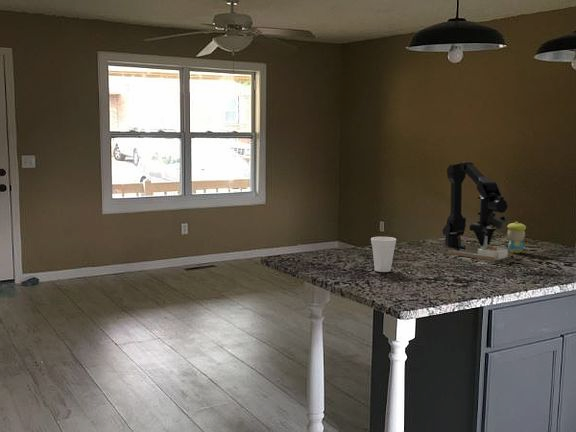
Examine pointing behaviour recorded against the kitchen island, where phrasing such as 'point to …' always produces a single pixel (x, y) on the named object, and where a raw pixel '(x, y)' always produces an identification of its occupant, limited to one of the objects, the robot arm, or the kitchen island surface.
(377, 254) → the cup
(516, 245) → the toy
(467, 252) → the pitch
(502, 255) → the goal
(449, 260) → the kitchen island surface
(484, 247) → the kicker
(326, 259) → the kitchen island surface
